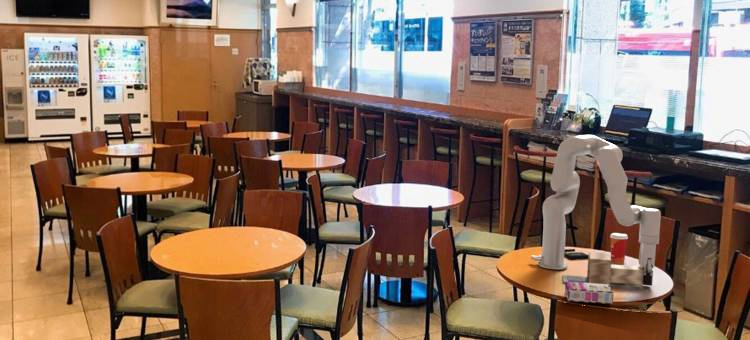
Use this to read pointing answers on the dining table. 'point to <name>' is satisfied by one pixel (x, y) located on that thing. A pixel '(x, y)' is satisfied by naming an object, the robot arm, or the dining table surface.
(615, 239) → the paper cup
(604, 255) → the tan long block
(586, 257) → the battery charger
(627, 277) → the block
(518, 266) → the dining table surface
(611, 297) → the candy bar box
